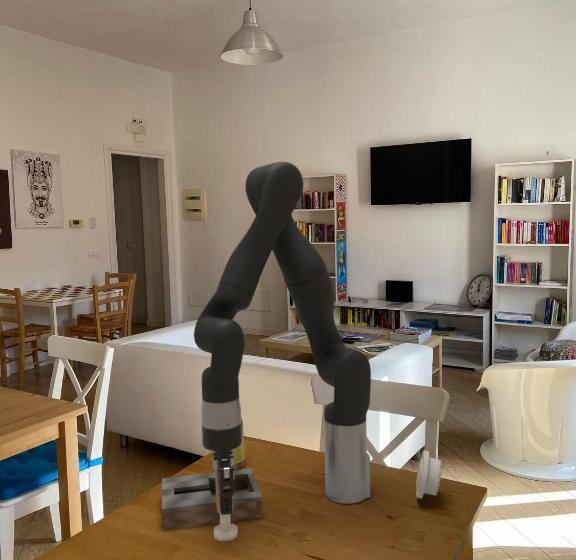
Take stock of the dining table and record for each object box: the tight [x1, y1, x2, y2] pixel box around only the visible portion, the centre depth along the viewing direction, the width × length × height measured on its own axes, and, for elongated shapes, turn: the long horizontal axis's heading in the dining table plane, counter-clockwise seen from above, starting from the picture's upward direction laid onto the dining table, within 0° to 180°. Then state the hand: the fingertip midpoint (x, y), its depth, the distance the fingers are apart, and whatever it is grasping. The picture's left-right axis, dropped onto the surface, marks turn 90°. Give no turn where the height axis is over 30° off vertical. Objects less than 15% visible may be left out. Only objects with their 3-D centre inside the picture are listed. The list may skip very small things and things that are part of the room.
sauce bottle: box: [231, 416, 246, 470], centre depth 141 cm, size 7×6×20 cm
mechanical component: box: [415, 450, 442, 499], centre depth 123 cm, size 10×4×10 cm, turn 168°
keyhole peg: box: [213, 476, 239, 542], centre depth 110 cm, size 5×5×12 cm
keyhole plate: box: [161, 468, 263, 531], centre depth 121 cm, size 20×14×5 cm
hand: (224, 505), depth 110 cm, fingers open, 5 cm apart
